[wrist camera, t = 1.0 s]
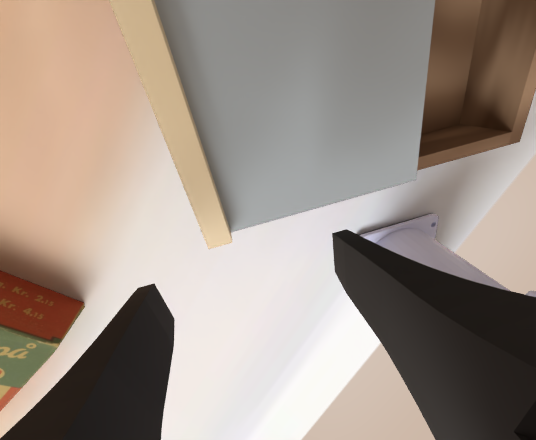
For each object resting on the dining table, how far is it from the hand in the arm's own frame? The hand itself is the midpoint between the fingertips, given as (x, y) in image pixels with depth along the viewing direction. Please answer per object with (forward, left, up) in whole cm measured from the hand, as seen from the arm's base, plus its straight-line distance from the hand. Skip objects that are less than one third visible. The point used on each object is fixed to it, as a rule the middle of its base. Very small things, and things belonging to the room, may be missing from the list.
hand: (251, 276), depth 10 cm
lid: (+7, -4, -5) cm, 9 cm away
